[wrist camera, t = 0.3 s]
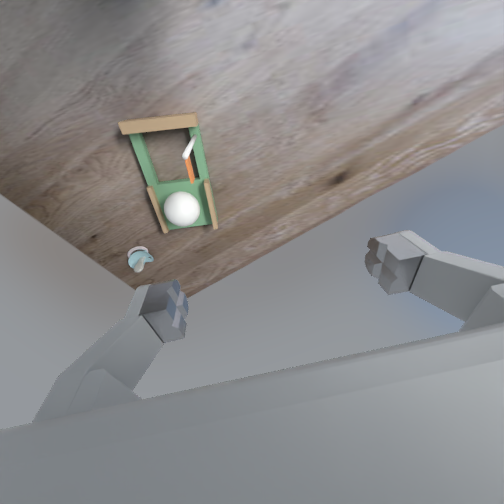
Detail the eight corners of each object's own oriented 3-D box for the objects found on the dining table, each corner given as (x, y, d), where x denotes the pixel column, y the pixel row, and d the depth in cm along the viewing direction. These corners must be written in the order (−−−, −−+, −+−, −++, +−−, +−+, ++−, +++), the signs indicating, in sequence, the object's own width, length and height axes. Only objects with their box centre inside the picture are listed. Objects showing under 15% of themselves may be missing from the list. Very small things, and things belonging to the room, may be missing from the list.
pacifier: (123, 252, 62) (138, 266, 65) (114, 265, 57) (131, 280, 60) (143, 241, 61) (157, 255, 64) (136, 254, 56) (152, 269, 59)
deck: (126, 119, 43) (74, 135, 28) (196, 112, 44) (184, 123, 28) (166, 226, 59) (147, 276, 43) (217, 219, 59) (218, 266, 43)
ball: (162, 188, 51) (154, 202, 44) (196, 184, 51) (194, 197, 45) (173, 218, 55) (167, 235, 49) (204, 214, 56) (202, 230, 49)
